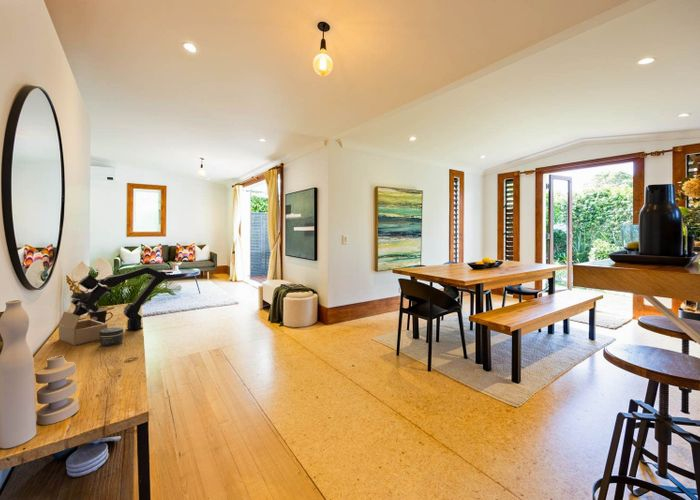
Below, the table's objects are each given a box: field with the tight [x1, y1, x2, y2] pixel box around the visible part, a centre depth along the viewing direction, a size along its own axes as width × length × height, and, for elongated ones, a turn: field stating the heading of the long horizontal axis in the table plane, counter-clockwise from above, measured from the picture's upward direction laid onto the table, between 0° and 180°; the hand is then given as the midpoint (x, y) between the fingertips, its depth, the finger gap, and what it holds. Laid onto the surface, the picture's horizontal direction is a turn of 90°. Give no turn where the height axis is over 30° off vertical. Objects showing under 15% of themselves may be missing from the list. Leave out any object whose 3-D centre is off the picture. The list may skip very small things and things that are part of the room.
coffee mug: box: [88, 308, 113, 324], centre depth 192 cm, size 12×9×10 cm
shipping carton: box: [58, 318, 108, 347], centre depth 169 cm, size 15×19×8 cm
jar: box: [99, 326, 124, 348], centre depth 163 cm, size 10×10×8 cm
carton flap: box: [58, 311, 81, 330], centre depth 164 cm, size 1×18×7 cm, turn 62°
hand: (70, 318), depth 164 cm, fingers closed, pressing on carton flap
